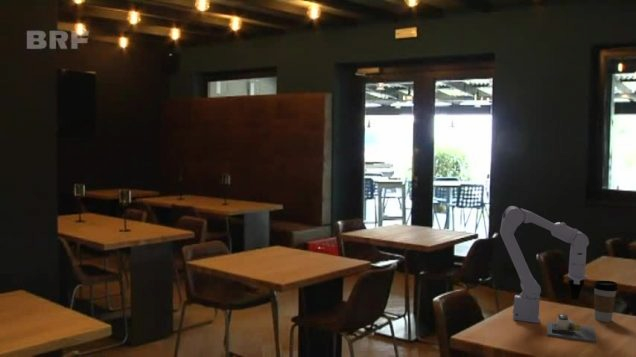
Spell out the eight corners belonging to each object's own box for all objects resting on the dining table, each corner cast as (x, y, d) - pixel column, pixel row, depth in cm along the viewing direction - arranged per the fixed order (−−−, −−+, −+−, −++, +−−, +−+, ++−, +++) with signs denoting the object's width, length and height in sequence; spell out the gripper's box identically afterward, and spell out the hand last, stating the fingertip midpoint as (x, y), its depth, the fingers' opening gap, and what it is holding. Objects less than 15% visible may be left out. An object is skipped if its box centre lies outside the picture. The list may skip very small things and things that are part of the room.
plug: (555, 331, 219) (556, 318, 218) (555, 328, 223) (556, 314, 223) (569, 334, 217) (570, 319, 217) (569, 330, 222) (570, 316, 221)
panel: (547, 336, 216) (547, 330, 216) (547, 323, 231) (548, 318, 231) (596, 343, 211) (596, 337, 211) (594, 329, 226) (594, 324, 225)
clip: (556, 320, 228) (556, 313, 228) (564, 320, 228) (564, 313, 228) (573, 330, 216) (573, 324, 216) (581, 330, 216) (582, 324, 216)
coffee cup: (617, 323, 234) (620, 285, 233) (594, 321, 236) (596, 283, 235) (611, 317, 242) (614, 280, 241) (588, 315, 244) (591, 278, 243)
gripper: (589, 268, 223) (587, 305, 224) (588, 261, 236) (585, 295, 237) (568, 266, 225) (566, 302, 226) (568, 259, 239) (566, 293, 240)
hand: (574, 299), depth 232 cm, fingers closed
